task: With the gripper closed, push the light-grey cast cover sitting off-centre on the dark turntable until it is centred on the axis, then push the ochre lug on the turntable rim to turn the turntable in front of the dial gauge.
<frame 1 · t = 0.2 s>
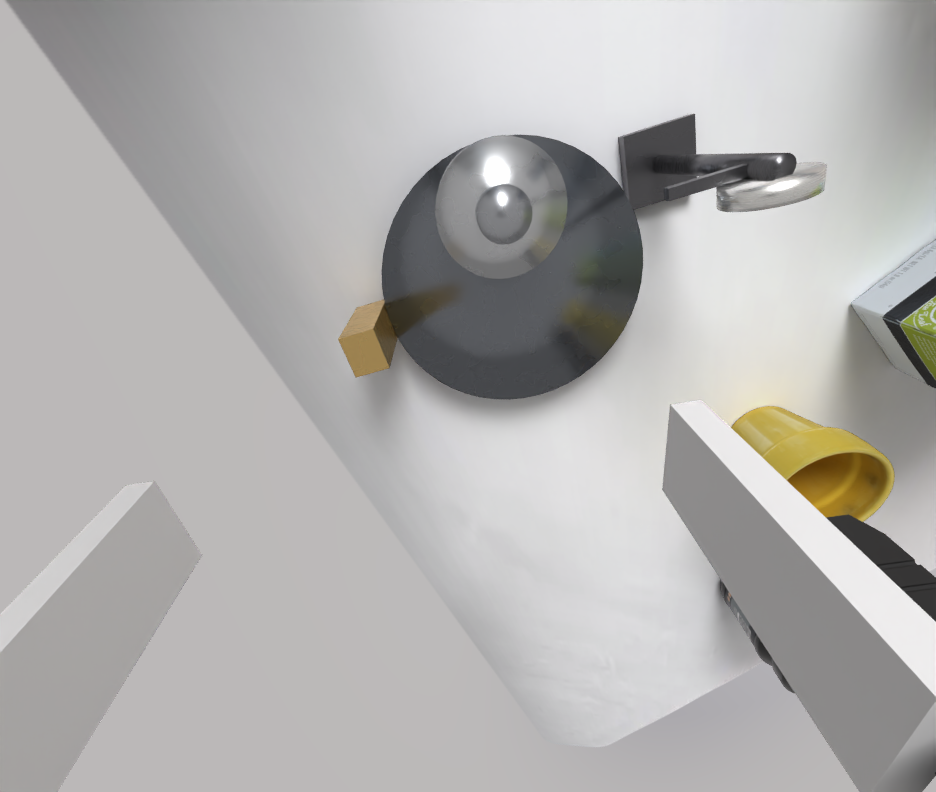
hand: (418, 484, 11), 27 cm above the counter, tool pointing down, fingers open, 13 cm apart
plant pot: (755, 432, 45), on the counter
supplement container: (757, 573, 56), on the counter
turntable: (500, 297, 32), point 5 cm above the counter, hinge at 0.0°, touching cover
dial gauge: (655, 164, 32), on the counter
cover: (493, 204, 31), point 3 cm above the counter, touching turntable
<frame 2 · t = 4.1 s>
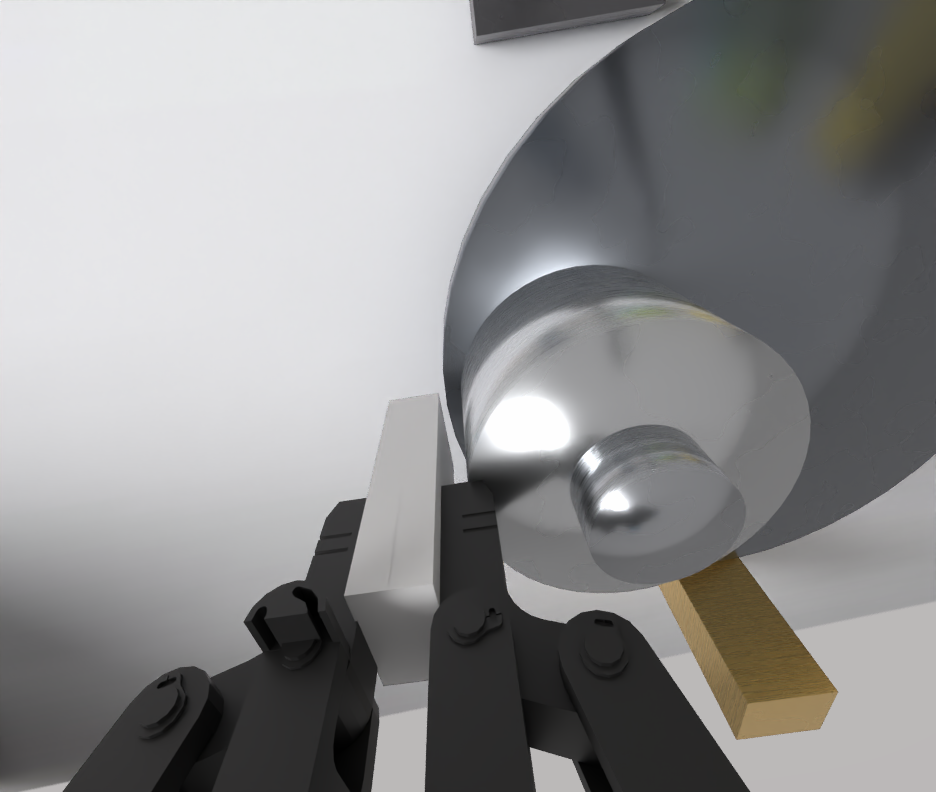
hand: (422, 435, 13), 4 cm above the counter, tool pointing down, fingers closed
turntable: (774, 424, 13), point 5 cm above the counter, hinge at 0.0°, touching cover
cover: (578, 385, 15), point 3 cm above the counter, touching turntable
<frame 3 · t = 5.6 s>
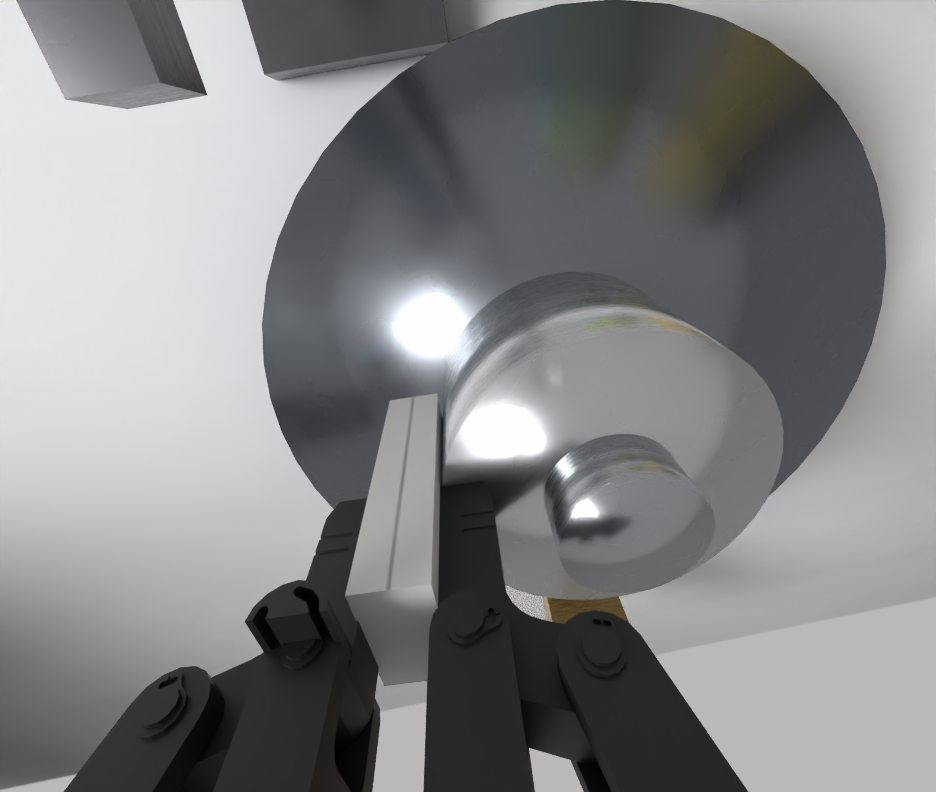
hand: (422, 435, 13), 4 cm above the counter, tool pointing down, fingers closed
turntable: (588, 453, 14), point 5 cm above the counter, hinge at 0.0°, touching cover
cover: (561, 391, 15), point 3 cm above the counter, touching gripper, turntable
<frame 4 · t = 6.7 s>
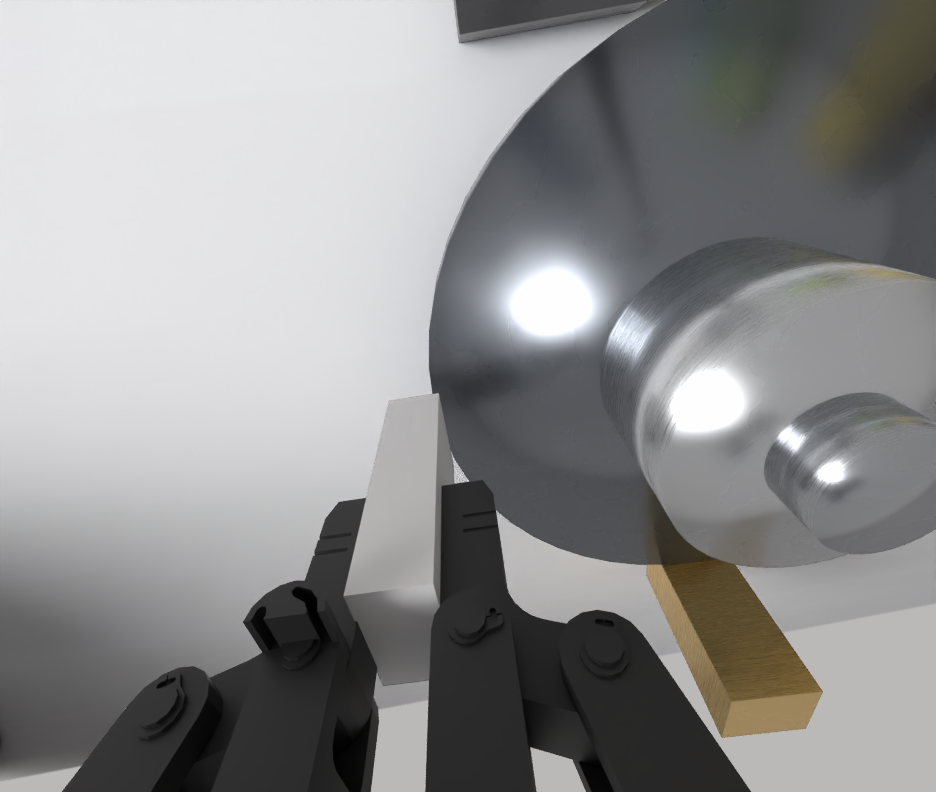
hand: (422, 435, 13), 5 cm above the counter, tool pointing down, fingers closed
turntable: (758, 422, 13), point 5 cm above the counter, hinge at 0.0°, touching cover
cover: (719, 362, 15), point 3 cm above the counter, touching turntable
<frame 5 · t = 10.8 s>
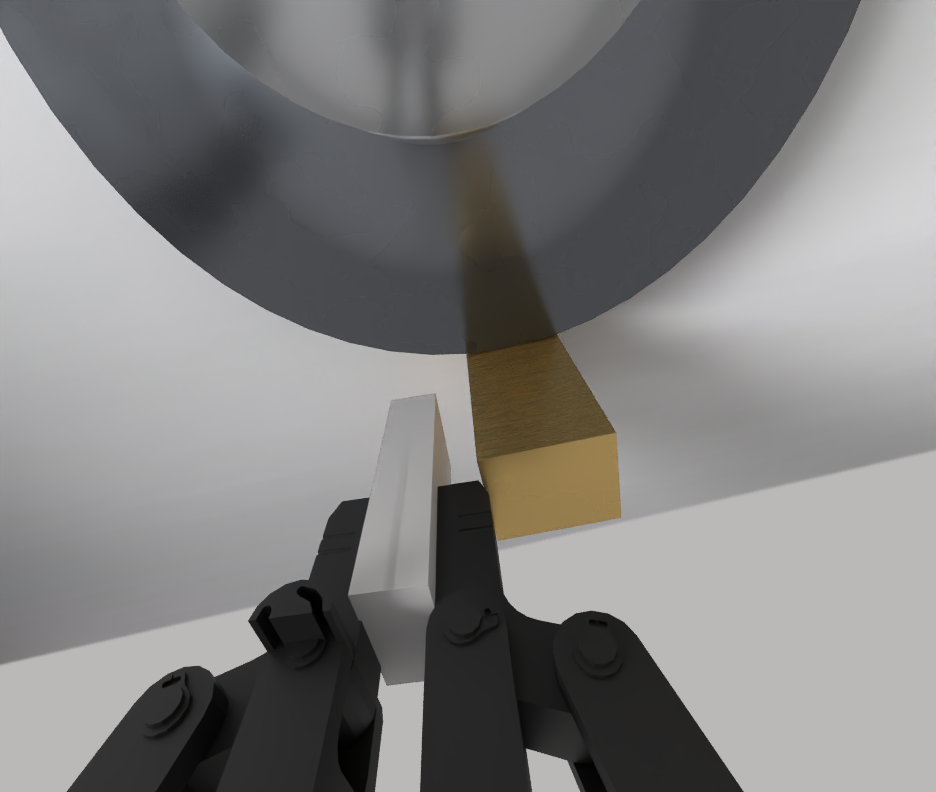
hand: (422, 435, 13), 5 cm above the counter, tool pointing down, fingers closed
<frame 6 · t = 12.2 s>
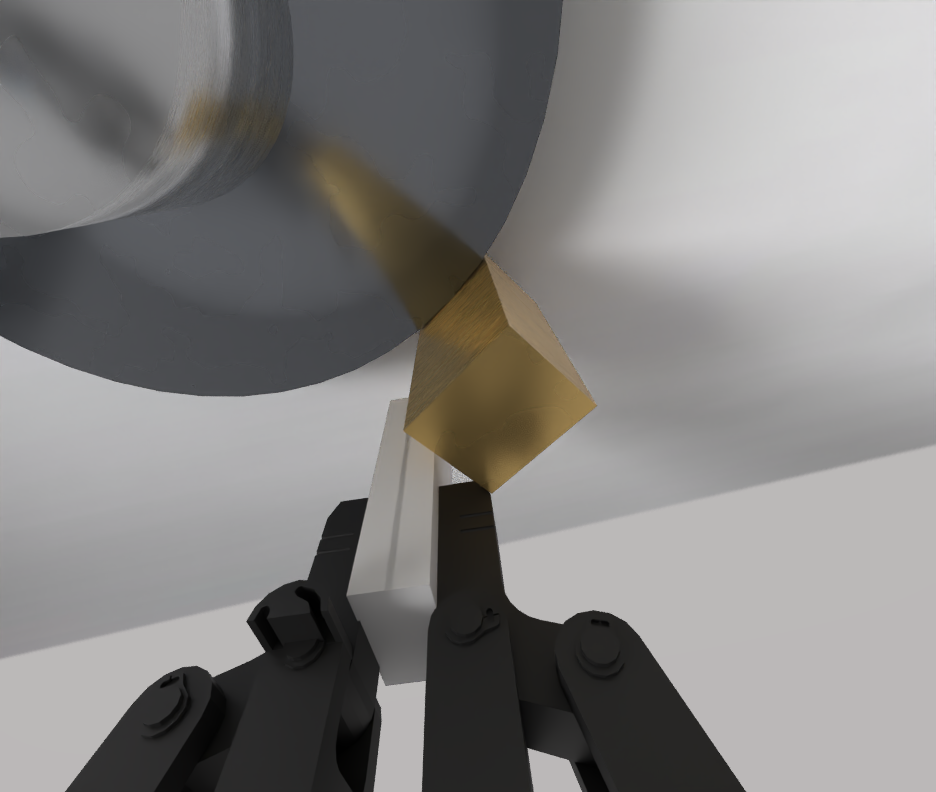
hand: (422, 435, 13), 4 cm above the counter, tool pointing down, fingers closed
turntable: (108, 24, 8), point 5 cm above the counter, hinge at 38.9°, touching cover, gripper
cover: (108, 13, 10), point 3 cm above the counter, touching turntable
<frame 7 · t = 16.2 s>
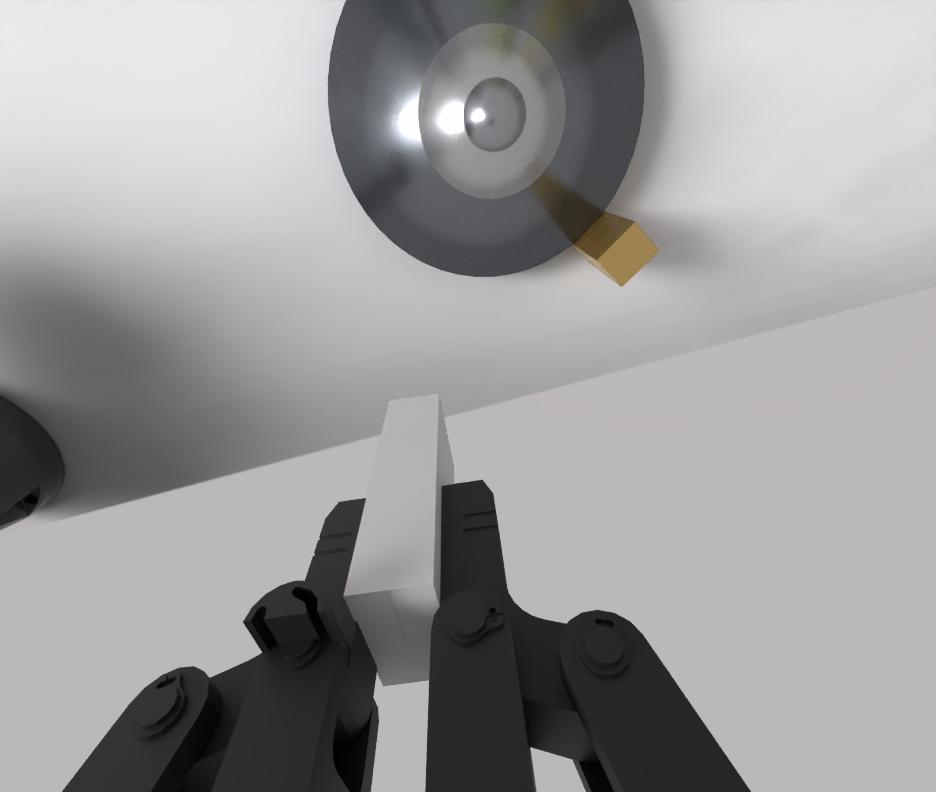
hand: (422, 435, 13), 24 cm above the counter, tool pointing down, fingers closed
turntable: (505, 132, 26), point 5 cm above the counter, hinge at 40.0°, touching cover
cover: (485, 123, 28), point 3 cm above the counter, touching turntable
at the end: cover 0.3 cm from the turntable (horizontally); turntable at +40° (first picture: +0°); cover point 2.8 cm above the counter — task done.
